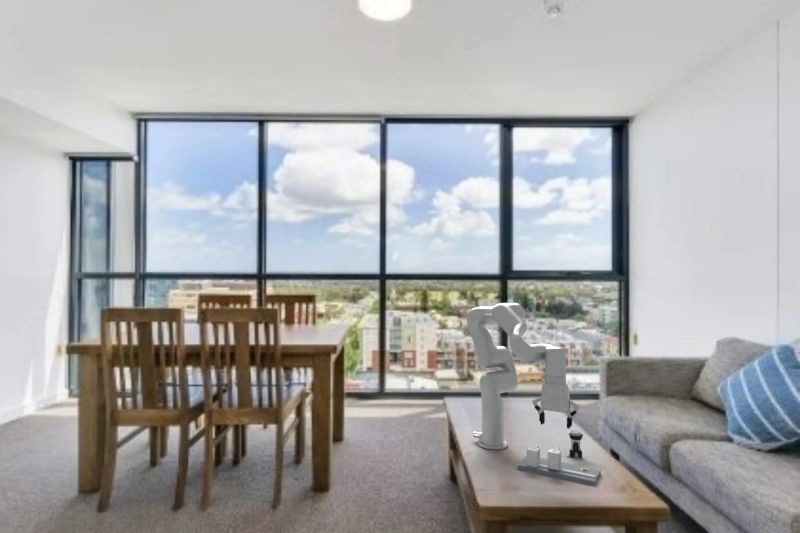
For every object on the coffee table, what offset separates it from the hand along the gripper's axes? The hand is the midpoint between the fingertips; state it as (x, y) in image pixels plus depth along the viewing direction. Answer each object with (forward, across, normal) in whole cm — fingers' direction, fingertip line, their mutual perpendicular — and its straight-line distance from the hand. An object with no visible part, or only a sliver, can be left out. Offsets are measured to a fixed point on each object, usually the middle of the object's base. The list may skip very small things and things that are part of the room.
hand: (555, 425), depth 193 cm
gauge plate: (+18, 0, +3) cm, 18 cm away
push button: (+18, +2, +22) cm, 28 cm away
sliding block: (+16, -1, +2) cm, 16 cm away
